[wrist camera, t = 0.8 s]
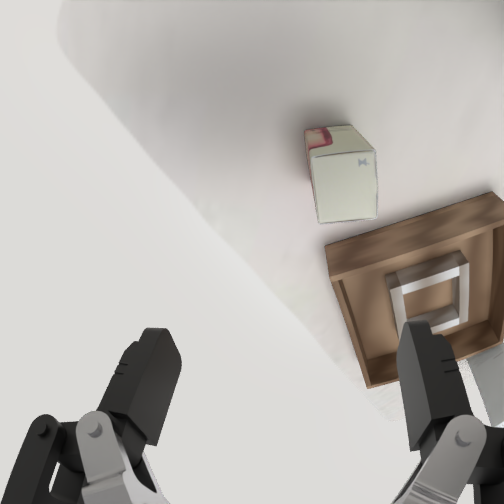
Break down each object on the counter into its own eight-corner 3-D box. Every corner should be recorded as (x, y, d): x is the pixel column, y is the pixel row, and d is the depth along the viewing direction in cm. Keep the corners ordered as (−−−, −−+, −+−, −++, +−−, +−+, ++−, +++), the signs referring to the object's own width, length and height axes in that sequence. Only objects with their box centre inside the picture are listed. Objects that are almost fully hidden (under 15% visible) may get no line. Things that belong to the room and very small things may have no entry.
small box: (302, 129, 25) (308, 154, 19) (353, 124, 25) (376, 148, 18) (310, 184, 28) (317, 226, 22) (357, 179, 27) (379, 220, 21)
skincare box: (457, 338, 37) (488, 429, 25) (491, 315, 34) (532, 403, 22) (470, 362, 40) (496, 442, 27) (501, 342, 37) (533, 420, 25)
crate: (492, 191, 26) (517, 214, 21) (488, 316, 34) (502, 343, 30) (324, 245, 31) (329, 277, 27) (362, 358, 40) (367, 389, 36)
